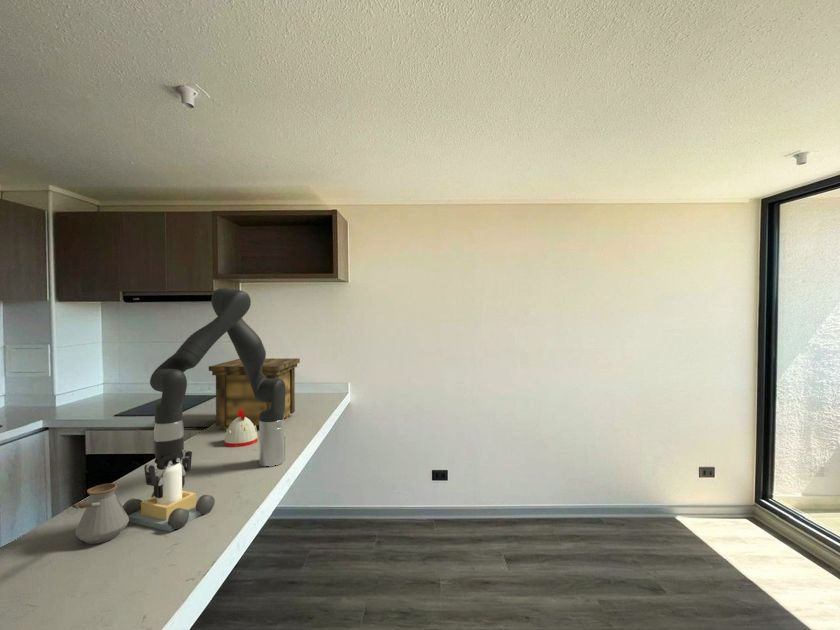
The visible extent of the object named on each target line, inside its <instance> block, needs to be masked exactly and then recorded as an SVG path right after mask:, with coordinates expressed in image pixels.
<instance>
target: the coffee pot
mask: <svg viewBox="0 0 840 630" xmlns="http://www.w3.org/2000/svg"><path fill="white" fill-rule="evenodd" d="M117 488H118V484H117V483H102V484H98V485H95V486H93V487H90V488H88V489H87V490H86V492H87V494H88V495H89V497H90V499H89V502H77V503H73V504H72V505H71V506H69V507H68V508H67V509H66V513H67V514H69V515H71V513H70V512H69V509H70V508H71V507H72V508H74V509H77V510H76V511H75V512H73V513H72V515H75V514H76V513H78V511H79V509H85V510H84V512H83V514H82V516H81V519H80V520H79V522H78V524H77V526H76V529H75V534H74V535H76V537H77V538H78V539H79V540H80V541H82V542H85V543H86V544H91V545H93V544H100V543H101V544H102V543H105V542H108V541H110V540H112V539H115V538H117V537H118V536H119V535H120V534H121V533H122V532H123V530H125V529H126V527H127V526H128V524H129V523H130V522H129V517H128V515H127V513H126V512H125V510H124V508H123V505H122V503H121V501H120V500H119V498H118V497H117V495H116V493H115V492H116V489H117Z"/></svg>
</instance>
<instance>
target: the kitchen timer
mask: <svg viewBox="0 0 840 630" xmlns="http://www.w3.org/2000/svg"><path fill="white" fill-rule="evenodd" d="M258 441H259V436H258V430H257V425H253V423H252V422H251V421H250V420H249V419H248V418H246V417H245V414H244V411H243V410H242V409H240V410H239V411H238V417H237V418H236V419H235V420H233V422H232V423H231V424H230V426H229V427H228V429H225V434H224V446H226V447H229V448H240V447H247V446H251V445H254V444H256V443H258Z"/></svg>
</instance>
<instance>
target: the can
mask: <svg viewBox="0 0 840 630" xmlns="http://www.w3.org/2000/svg"><path fill="white" fill-rule="evenodd" d="M165 467H166V466H164V468H165ZM163 471H164V469H163V470H161V469H158V470H157V473H160V474H162V473H163ZM159 478H160V476H158V480H159ZM162 485H163V497H162V498H157V504H161V505H166V506H168V505H170V504H172V503H174V502H176V501H178V500H180V499H182V491H183V488H182V466H181V464H180V462H179V463H175V464H172V465H171V466H167V469H166V472H165V477H163V483H162Z"/></svg>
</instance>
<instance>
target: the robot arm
mask: <svg viewBox="0 0 840 630" xmlns="http://www.w3.org/2000/svg"><path fill="white" fill-rule="evenodd" d="M251 302H252V301H251V297H250V295H249V294H248V292H246V291H243V290H241V289H235V288H228V287H220V288H217V289H216V290H214V292H213V293H212V295H211V307H212V309H213V311H214V313H215V315H216V316H217V317H216V318H214V319H213V320H212V321H210V322H209V323H207V324H206V325H204V326H203V327H201V328H199V329H197V330H195V332H193V333H192V334H190V335H189V336H188V337H187V338H186V339H185V341H184V342H183V343H182V344H181V345H180V347H178V349H177V350H176V352H175V353H173V354H172V355H170V357H168V358H167V359H166V360H165V361H163V362H162V363H160V365H159V366H158V367H156V369H155V370H153V373H152V374H151V376H150V378H149V385H150V387H151V388H152V389H153V390H154V391H157V392H160V393H162V394H161V399H160V401H158V402H157V403H156V404H155V407H154V428H153V453H154V456H155V459H154V462H152V463H150V464H145V465H144V467H143V468H144V475H145V484H146V486H152V487H153V492H154V496H155V497H156V498H162V497H163V485H162V483H163V477H165V472H166V469H167V466H171V465H172V464H175V463H179V462H180V464H181V466H182V489H183V488H184V487H185V475H186V473H188V472H191V467H192V457H193V456H192V455H193V451H190V450H184V448H185V447H184V446H185V444H184V443H185V442H184V441H185V439H184V435H185V434H184V430H185V429H184V428H185V427H184V422H183V404H184V401H185V396H186V392H187V387H188V380H187V376H186V374H185V373H184V372H186V371H188V370H190V369H194V368H195V367H196V366H198V364H199V363H200V362H201V360H202V359H203V358H204V357H205V355H206V354H207V353H208V352H209V350H210V349H211V348H212V347H213V346H214V345H215V343H216V342H217V341H218V340H219V339H220V338H222V337H223V335H225V334H226V333H227V334H228V336H229V339H230V341H231V343H232V345H233V347H234V349H235V351H236V354H237V356H238V359H240V360H241V362H242V364H243V366H244V368H245V370H246V373H247V375H248V378H249V381H250V384H251V387H252V390H253V393H254V395H255V397H256V399H257V400H258V401H261V402H271V408H270V409H268V410H265V411H263V412H261V413H260V414H259V425H258V434H259V435H258V441H259V443H258V445H259V447H258V449H259V450H258V451H259V452H258V453H259V456H258V457H259V458H258V459H259V462H258V464H259V465H260V466H261V467H266V466H269V467H275V465H276V466H279V465H281V464H283V463H284V462H285V460H286V436H285V419H284V411H285V396H286V386H285V383H284V381H283V380H282V379H267V378H265V377H264V375H263V373H262V366H263V364H264V361H265V359H267V353H266V352H267V351H266V348H265V346H264V344H263V340H262V339H261V337H260V336H259V334H258V333H257V332H256V331H254V329H253V328H252V327H251V326H250V325H248V324H247V323H246V321H245V320H244V319H243V317H244V316H245V315H246V314H247V313H248V311H249V310H250V308H251V304H252V303H251ZM164 466H166V467H165V468H164ZM158 469H161V470H163V469H164V471H163V473H162V474H160V473H157V470H158ZM158 476H160V478H159V480H158Z"/></svg>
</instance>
